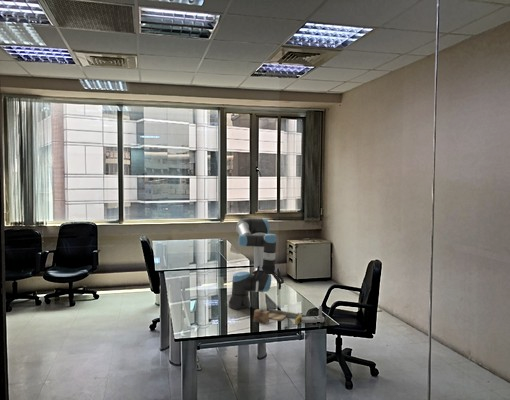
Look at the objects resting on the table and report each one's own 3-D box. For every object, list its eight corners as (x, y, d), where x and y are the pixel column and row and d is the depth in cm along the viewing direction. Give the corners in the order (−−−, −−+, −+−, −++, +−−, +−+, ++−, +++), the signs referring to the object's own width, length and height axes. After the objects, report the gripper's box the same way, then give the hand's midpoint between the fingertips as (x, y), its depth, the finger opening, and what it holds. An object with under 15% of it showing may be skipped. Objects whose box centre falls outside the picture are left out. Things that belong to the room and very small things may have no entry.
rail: (263, 318, 254) (263, 312, 254) (269, 313, 265) (269, 308, 264) (296, 324, 246) (297, 319, 246) (301, 319, 256) (302, 314, 256)
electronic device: (300, 305, 255) (323, 304, 257) (300, 320, 255) (322, 320, 258) (303, 308, 249) (326, 307, 252) (302, 323, 250) (325, 322, 253)
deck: (263, 318, 254) (263, 316, 254) (269, 313, 265) (269, 311, 265) (294, 324, 246) (295, 322, 246) (300, 319, 256) (300, 317, 256)
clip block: (253, 320, 248) (254, 310, 247) (256, 318, 252) (257, 308, 252) (265, 323, 245) (266, 312, 244) (268, 320, 249) (269, 310, 249)
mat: (252, 322, 246) (252, 321, 246) (257, 318, 254) (257, 317, 254) (264, 324, 243) (264, 323, 243) (269, 320, 251) (269, 320, 251)
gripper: (248, 257, 249) (246, 291, 250) (287, 262, 241) (285, 297, 242) (251, 256, 256) (250, 289, 257) (290, 260, 249) (288, 294, 249)
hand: (267, 293), depth 249 cm, fingers open, 13 cm apart
